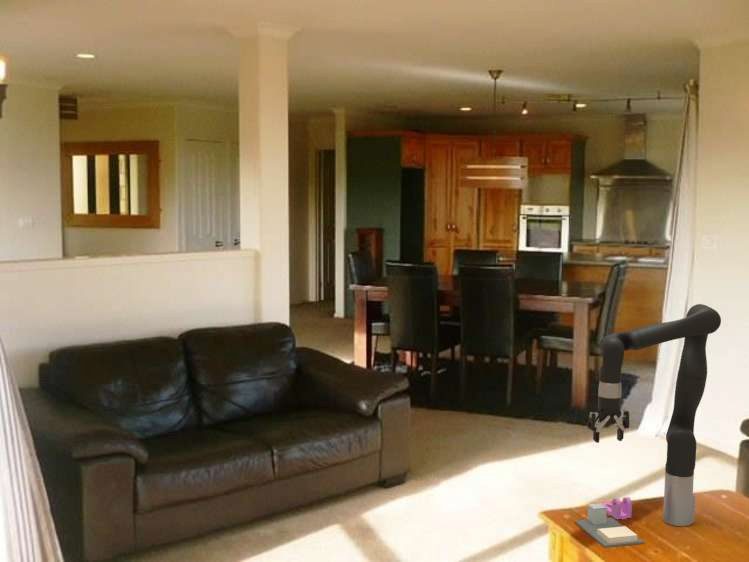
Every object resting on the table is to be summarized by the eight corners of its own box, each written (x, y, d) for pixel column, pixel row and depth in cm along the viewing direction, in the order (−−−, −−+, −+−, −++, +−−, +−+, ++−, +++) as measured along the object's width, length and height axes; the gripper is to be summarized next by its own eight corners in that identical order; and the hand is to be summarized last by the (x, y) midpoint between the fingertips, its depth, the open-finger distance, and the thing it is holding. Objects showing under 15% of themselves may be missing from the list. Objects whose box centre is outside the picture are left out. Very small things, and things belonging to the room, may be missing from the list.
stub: (599, 518, 294) (599, 503, 294) (606, 523, 289) (606, 508, 289) (587, 519, 293) (588, 504, 293) (594, 525, 288) (595, 509, 288)
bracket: (631, 518, 296) (632, 499, 296) (617, 520, 295) (617, 500, 294) (610, 505, 309) (611, 486, 308) (597, 506, 307) (597, 488, 306)
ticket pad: (611, 519, 295) (611, 511, 295) (644, 543, 275) (644, 535, 275) (574, 522, 292) (574, 514, 292) (604, 547, 272) (605, 539, 272)
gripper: (623, 391, 294) (621, 436, 296) (585, 393, 291) (583, 439, 293) (634, 396, 287) (632, 443, 289) (596, 398, 284) (594, 445, 285)
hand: (608, 441), depth 291 cm, fingers open, 8 cm apart
